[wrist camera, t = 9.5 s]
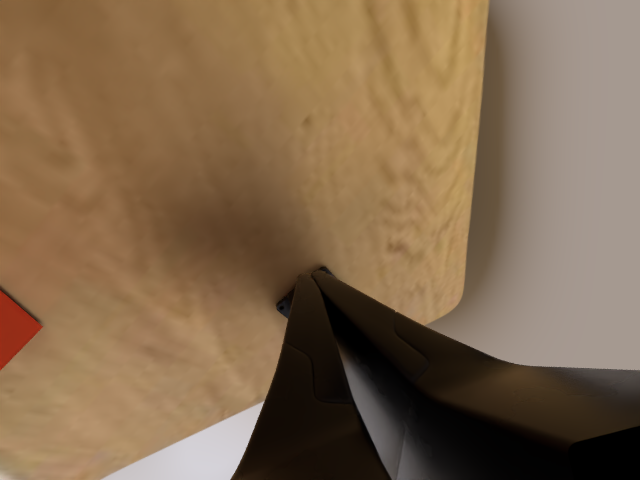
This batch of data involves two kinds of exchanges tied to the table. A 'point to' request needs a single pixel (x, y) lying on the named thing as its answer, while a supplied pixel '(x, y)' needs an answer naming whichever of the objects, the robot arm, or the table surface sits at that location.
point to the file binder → (14, 329)
